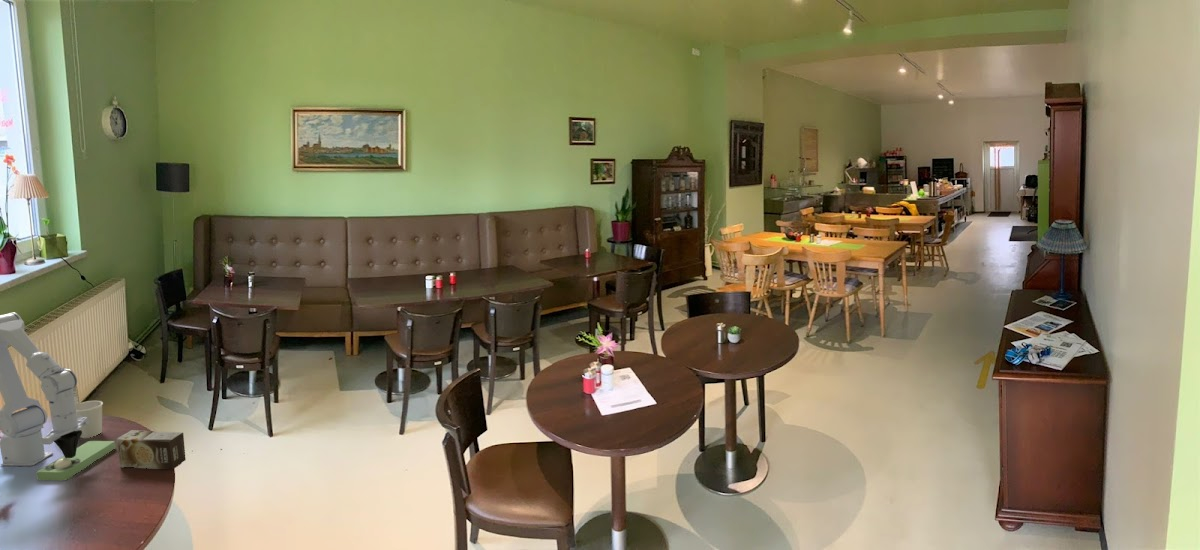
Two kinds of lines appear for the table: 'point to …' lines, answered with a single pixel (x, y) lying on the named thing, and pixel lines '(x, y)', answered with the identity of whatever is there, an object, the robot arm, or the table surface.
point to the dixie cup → (90, 417)
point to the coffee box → (151, 449)
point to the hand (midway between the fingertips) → (70, 457)
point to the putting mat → (77, 460)
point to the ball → (62, 463)
